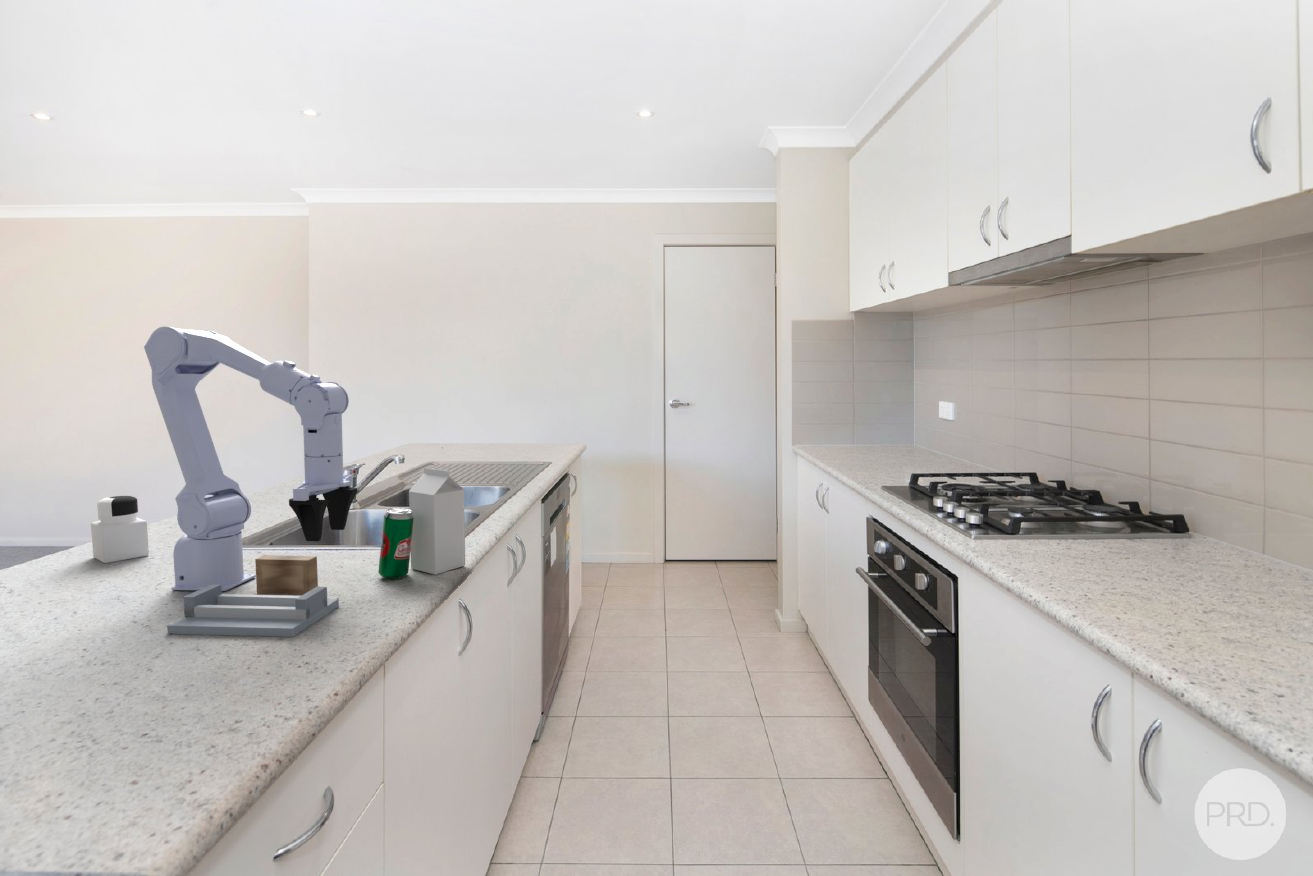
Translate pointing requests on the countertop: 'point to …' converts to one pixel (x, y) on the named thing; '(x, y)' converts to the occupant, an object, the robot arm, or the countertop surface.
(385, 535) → the soda can
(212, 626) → the floor track
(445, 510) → the milk carton
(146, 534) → the medicine bottle
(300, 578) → the door slab
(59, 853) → the countertop surface
